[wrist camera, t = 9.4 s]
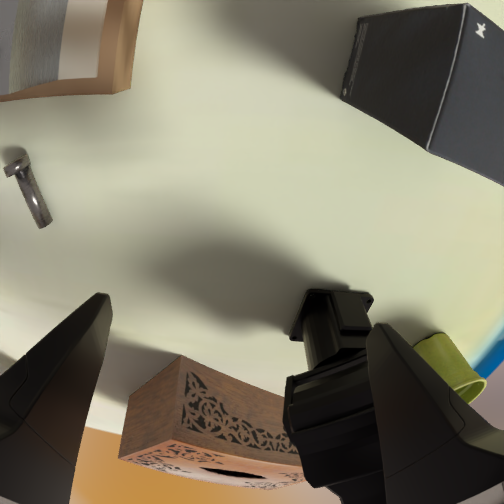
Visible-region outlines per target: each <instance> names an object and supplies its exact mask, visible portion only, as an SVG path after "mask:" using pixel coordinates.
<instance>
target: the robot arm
mask: <svg viewBox="0 0 504 504" xmlns="http://www.w3.org/2000/svg"><path fill="white" fill-rule="evenodd" d="M312 294H314V295H312ZM310 295H312V296H310ZM373 301H374V299H373V297H372V295H370V294H360V293H349V292H338V291H328V290H318V289H310V290H308V291H307V292H306V294H305V296H304V299H303V301H302V304H301V306H300V309H299V311H298V314H297V316H296V319H295V321H294V324H293V326H292V329H291V331H290V334H289V339H290V340H291V341H299V342H304V347H305V353H306V358H307V364H308V370H309V371H307V372H304V373H301V374H298V375H295V376H293V375H292V376H289V377H287V379H286V386H285V397H284V408H283V418H282V422H283V429H284V432H286V433H287V435H288V438H289V440H290V441H291V443H292V444H293V446H295V447H296V448H297V450H298V453H299V456H300V460H301V464H302V469H303V473H304V477H305V479H306V480H307V481H308V483H309V484H310V485H311V486H312V487H313V488H320V487H324V486H325V487H326V488H328V489H329V490H330V491H331V492H333V493H334V494H336V495H337V496H339V498H340V501H341V504H504V430H499V429H497V428H495V427H493V426H492V425H490V424H489V423H488V422H487V421H486V420H485V419H484V418H482V417H481V416H480V415H479V414H478V413H477V412H476V411H475V410H474V409H473V408H472V407H470V406H469V405H468V404H467V403H466V402H465V401H464V400H463V399H462V398H461V397H460V396H459V395H458V394H457V393H456V392H455V391H454V390H453V389H452V388H451V387H450V386H449V385H448V384H447V382H446V381H445V380H444V379H443V378H442V377H441V376H440V375H439V374H438V373H437V372H436V371H435V370H434V369H433V368H432V367H431V366H430V365H429V364H428V363H427V362H426V361H425V360H424V359H423V358H422V357H421V356H420V355H419V354H418V353H417V352H416V351H415V350H414V349H413V348H412V347H411V346H410V345H409V344H408V343H407V342H406V341H405V340H404V339H403V338H402V337H401V336H400V335H399V334H398V333H397V332H396V331H395V330H394V329H393V328H392V327H391V326H390V325H389V324H388V323H376V324H375V325H374V327H373V329H372V326H371V323H370V320H369V318H368V315H367V312H368V310H369V309H370V307H371V305H372V303H373ZM112 317H113V311H112V306H111V300H110V296H109V295H108V294H105V293H100V292H98V293H96V294H94V295H93V296H92V297H91V298H89V299H88V300H87V301H86V302H85V303H83V304H82V305H81V306H80V307H79V308H77V309H76V310H75V311H74V312H73V313H71V314H70V315H69V316H68V317H67V318H65V319H64V320H63V321H62V322H61V323H60V324H58V325H57V326H56V327H55V328H54V329H53V330H52V331H50V332H49V333H48V334H47V335H46V336H45V337H44V338H42V339H41V340H40V341H39V342H38V343H37V344H36V345H35V346H34V347H32V348H31V349H30V350H29V351H28V352H27V353H26V355H23V356H22V357H21V358H20V359H19V360H18V361H17V362H16V363H15V364H14V365H12V366H11V367H10V368H9V369H8V370H7V371H5V372H4V373H3V374H2V375H0V504H69V500H70V495H71V488H72V483H73V478H74V472H75V466H76V462H77V457H78V452H79V448H80V443H81V439H82V434H83V431H84V427H85V423H86V419H87V415H88V411H89V408H90V404H91V400H92V397H93V393H94V390H95V386H96V383H97V379H98V376H99V373H100V370H101V366H102V363H103V360H104V355H105V350H106V345H107V340H108V336H109V331H110V326H111V322H112Z"/></svg>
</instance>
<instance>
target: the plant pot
mask: <svg viewBox="0 0 504 504" xmlns="http://www.w3.org/2000/svg"><path fill="white" fill-rule="evenodd" d="M413 349H414V350H415V351H416V352H417V353H418V354H419V355H420V356H421V357H422V358H423V359H424V360H425V361H426V362H427V363H428V364H429V365H430V366H431V367H432V368H433V369H434V370H435V371H436V372H437V373H438V374H439V375H440V376H441V377H442V378H443V379H444V380H445V381H446V382H447V384H448V385H449V386H450V387H451V388H452V389H453V390H454V391H455V392H456V393H457V394H458V395H459V396H460V397H461V398H462V399H463V400H464V401H465V402H466V403H467V404H470V403H471V402H472V401H473V400H474V399H475V398H477V396H478V395H480V394H481V392H482V391H483V390H484V388H485V387H486V384H487V382H486V380H485V378H482V377H480V376H479V375H478V374H477V372H475V371H473V370H472V368H471V367H470V365H469V364H468V362H467V361H466V360H465V358H464V357H463V355H462V354H461V353H460V351H459V350H458V349H457V347H456V346H455V344H454V343H453V342H452V340H451V339H450V338H449V336H448V335H446V334H443V333H439V334H434V335H433V336H432V337H431V338H429V339H425V340H422V341H420V342H419V343H418V344H417V345H415V346H414V348H413Z"/></svg>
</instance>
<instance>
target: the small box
mask: <svg viewBox="0 0 504 504" xmlns="http://www.w3.org/2000/svg"><path fill="white" fill-rule="evenodd" d="M358 20H359V21H358V23H357V33H356V35H355V41H354V45H353V49H352V53H351V57H350V60H349V65H348V68H347V72H346V73H345V75H344V81H343V87H342V92H341V96H340V99H341V100H342V101H344V102H346V103H348V104H349V105H351V106H353V107H355V108H357V109H358V110H360V111H362V112H364V113H366V114H367V115H369V116H371V117H373V118H375V119H377V120H378V121H380V122H382V123H383V124H385V125H387V126H389V127H390V128H392V129H394V130H395V131H397V132H398V133H400V134H402V135H403V136H405V137H406V138H408V139H410V140H411V141H413V142H414V143H416V144H417V145H419V146H420V147H422V148H423V149H425V150H426V151H427V152H429V153H431V154H434V155H436V156H439V157H441V158H444V159H446V160H449V161H451V162H453V163H456V164H458V165H460V166H462V167H465V168H467V169H469V170H471V171H473V172H475V173H478V174H480V175H482V176H484V177H486V178H488V179H490V180H492V181H494V182H496V183H498V184H500V185H502V186H504V31H503V30H502V29H501V28H500V27H499V26H497V25H496V24H495V23H494V22H493V21H491V20H490V19H488V18H487V17H486V16H485V15H483V14H482V13H481V12H479V11H478V10H477V9H475V8H474V7H473V6H471V5H470V4H468V3H463V4H446V5H434V6H426V7H419V8H411V9H405V10H400V11H393V12H386V13H382V14H376V15H369V16H362V17H360V18H358Z"/></svg>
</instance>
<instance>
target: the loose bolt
mask: <svg viewBox="0 0 504 504" xmlns="http://www.w3.org/2000/svg"><path fill="white" fill-rule="evenodd" d="M30 164H31V163H30V160H29V158H28V155H27V154H25V155H23V156H21V157H20V158H18V159H16V160H14V161H13V162H11V163H9V164H8V165H6V166H5V167H4V168H3V169H4V172H5V174H6V177H7V178H8V177H10V176H12V175H14V174H15V177H16V179H17V182H18V184H19V187H20V189H21V191H22V194H23V196H24V198H25V200H26V203H27V205H28V207H29V209H30V211H31V214H32V216H33V218H34V220H35V222H36V224H37V226H38V228H39V229H41V228H44V227H46V226H47V225H49V224H50V223H51V222H52V220H53V219H52V217H51V215H50V213H49V211H48V209H47V206H46V204H45V202H44V200H43V197H42V195H41V193H40V190H39V188H38V186H37V183H36V181H35V178H34V176H33V173H32V171H31V168H30Z"/></svg>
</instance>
